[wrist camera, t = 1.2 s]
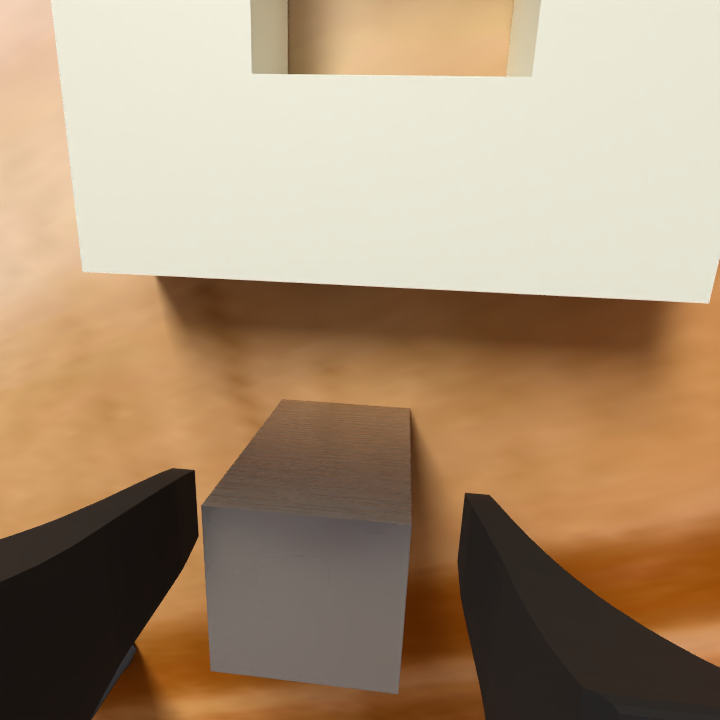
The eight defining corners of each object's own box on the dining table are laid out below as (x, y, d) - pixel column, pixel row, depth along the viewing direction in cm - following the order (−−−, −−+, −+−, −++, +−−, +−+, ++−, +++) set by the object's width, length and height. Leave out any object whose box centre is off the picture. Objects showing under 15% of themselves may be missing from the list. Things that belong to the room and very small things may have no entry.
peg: (409, 408, 14) (411, 525, 8) (401, 521, 15) (398, 694, 10) (282, 399, 15) (201, 505, 9) (282, 510, 16) (210, 671, 10)
